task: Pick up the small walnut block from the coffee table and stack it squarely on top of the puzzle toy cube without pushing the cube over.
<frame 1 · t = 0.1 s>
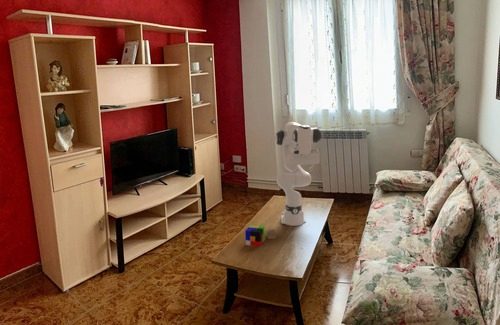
hand: (304, 170, 272), 48 cm above the table, fingers open, 8 cm apart
walnut block: (271, 237, 286), on the table
puzzle toy: (255, 243, 278), on the table
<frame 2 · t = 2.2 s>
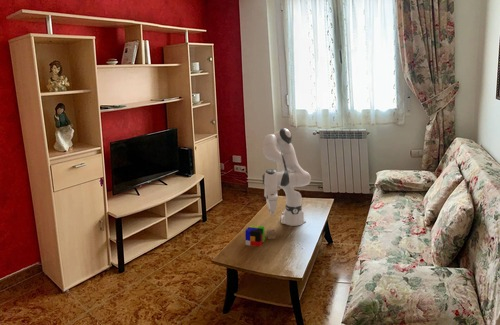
hand: (271, 213, 282), 18 cm above the table, fingers open, 8 cm apart
nothing on the table moved.
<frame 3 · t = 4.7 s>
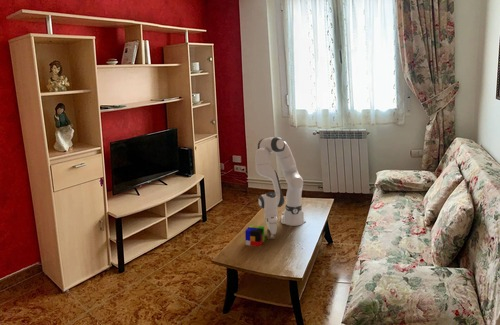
hand: (271, 235, 286), 2 cm above the table, fingers closed on walnut block, 5 cm apart
walnut block: (271, 237, 286), on the table, touching gripper
everything else where it was.
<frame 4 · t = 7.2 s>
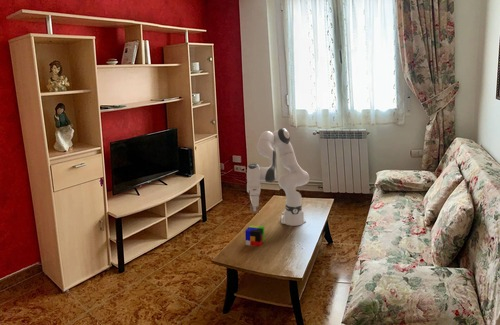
hand: (254, 209, 273), 23 cm above the table, fingers closed on walnut block, 5 cm apart
walnut block: (254, 211, 274), point 22 cm above the table, touching gripper
everything else where it was.
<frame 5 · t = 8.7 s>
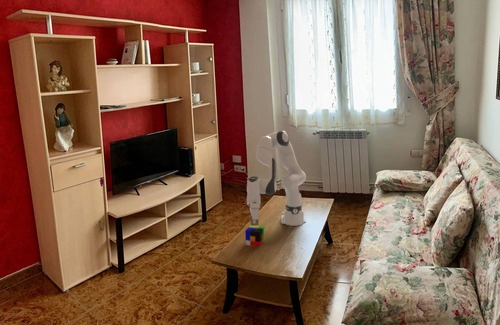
hand: (253, 221, 275), 15 cm above the table, fingers closed on walnut block, 5 cm apart
walnut block: (254, 223, 276), point 13 cm above the table, touching gripper
everything else where it was.
when the fingers open (13 cm above the table, at t = 10.0 s): walnut block drops 1 cm, resting on puzzle toy.
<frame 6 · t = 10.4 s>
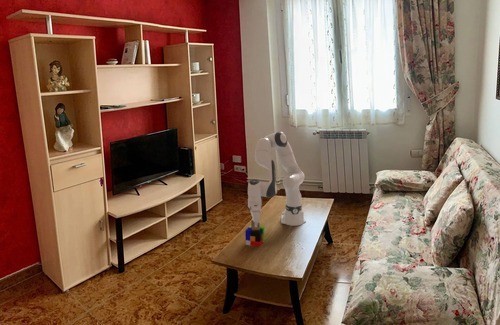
hand: (254, 224, 275), 13 cm above the table, fingers open, 8 cm apart
walnut block: (255, 228, 276), point 10 cm above the table, touching puzzle toy
puzzle toy: (255, 243, 278), on the table, touching walnut block
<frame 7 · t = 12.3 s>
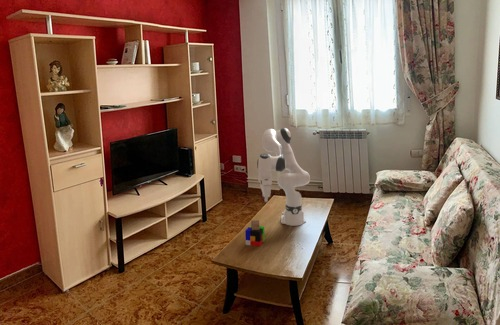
hand: (265, 199, 272), 30 cm above the table, fingers open, 8 cm apart
nothing on the table moved.
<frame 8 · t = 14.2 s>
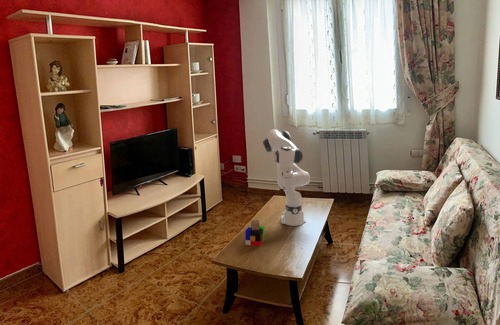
hand: (285, 191, 274), 34 cm above the table, fingers open, 8 cm apart
nothing on the table moved.
at the end: walnut block inside the target area in the puzzle toy (0.2 cm from its centre), point 10.2 cm above the puzzle toy's base; walnut block tilted 0°; puzzle toy moved 0.5 cm from its start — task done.
